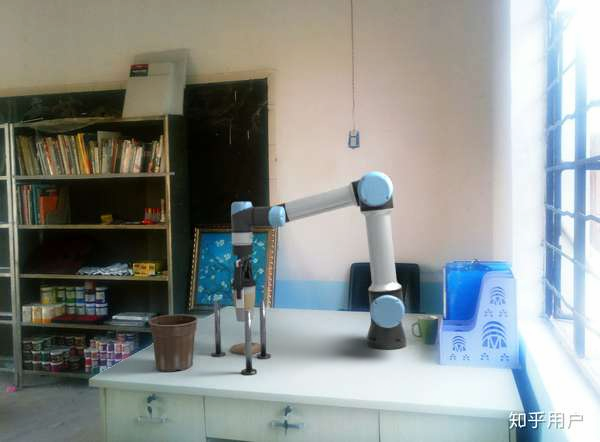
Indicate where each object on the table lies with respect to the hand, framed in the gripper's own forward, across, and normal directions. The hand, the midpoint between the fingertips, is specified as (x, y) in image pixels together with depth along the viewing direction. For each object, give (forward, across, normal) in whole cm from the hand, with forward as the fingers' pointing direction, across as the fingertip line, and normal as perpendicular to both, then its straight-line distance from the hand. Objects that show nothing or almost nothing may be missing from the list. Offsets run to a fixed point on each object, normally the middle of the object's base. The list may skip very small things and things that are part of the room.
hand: (244, 305), depth 194 cm
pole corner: (+17, -5, -8) cm, 20 cm away
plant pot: (+17, -19, +19) cm, 32 cm away
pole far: (+17, -5, +9) cm, 20 cm away
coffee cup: (+6, 0, 0) cm, 6 cm away
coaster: (+17, +2, 0) cm, 18 cm away
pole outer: (+17, -22, -8) cm, 29 cm away
